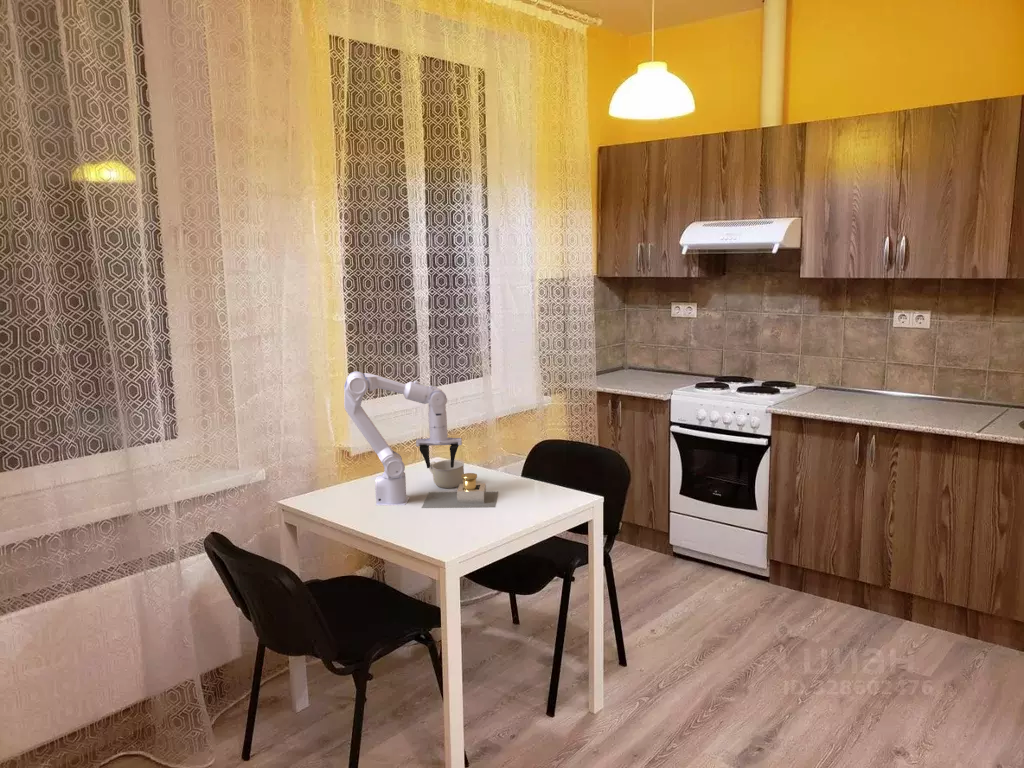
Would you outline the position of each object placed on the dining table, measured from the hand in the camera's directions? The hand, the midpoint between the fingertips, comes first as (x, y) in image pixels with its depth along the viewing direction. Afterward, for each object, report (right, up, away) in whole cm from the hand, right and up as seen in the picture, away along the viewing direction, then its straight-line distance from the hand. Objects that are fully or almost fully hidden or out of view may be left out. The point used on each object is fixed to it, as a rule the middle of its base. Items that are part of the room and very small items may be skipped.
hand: (440, 467), depth 246 cm
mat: (+7, -11, -2) cm, 13 cm away
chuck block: (+10, -10, -2) cm, 14 cm away
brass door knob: (+10, -10, -2) cm, 14 cm away
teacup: (0, -8, +15) cm, 18 cm away
